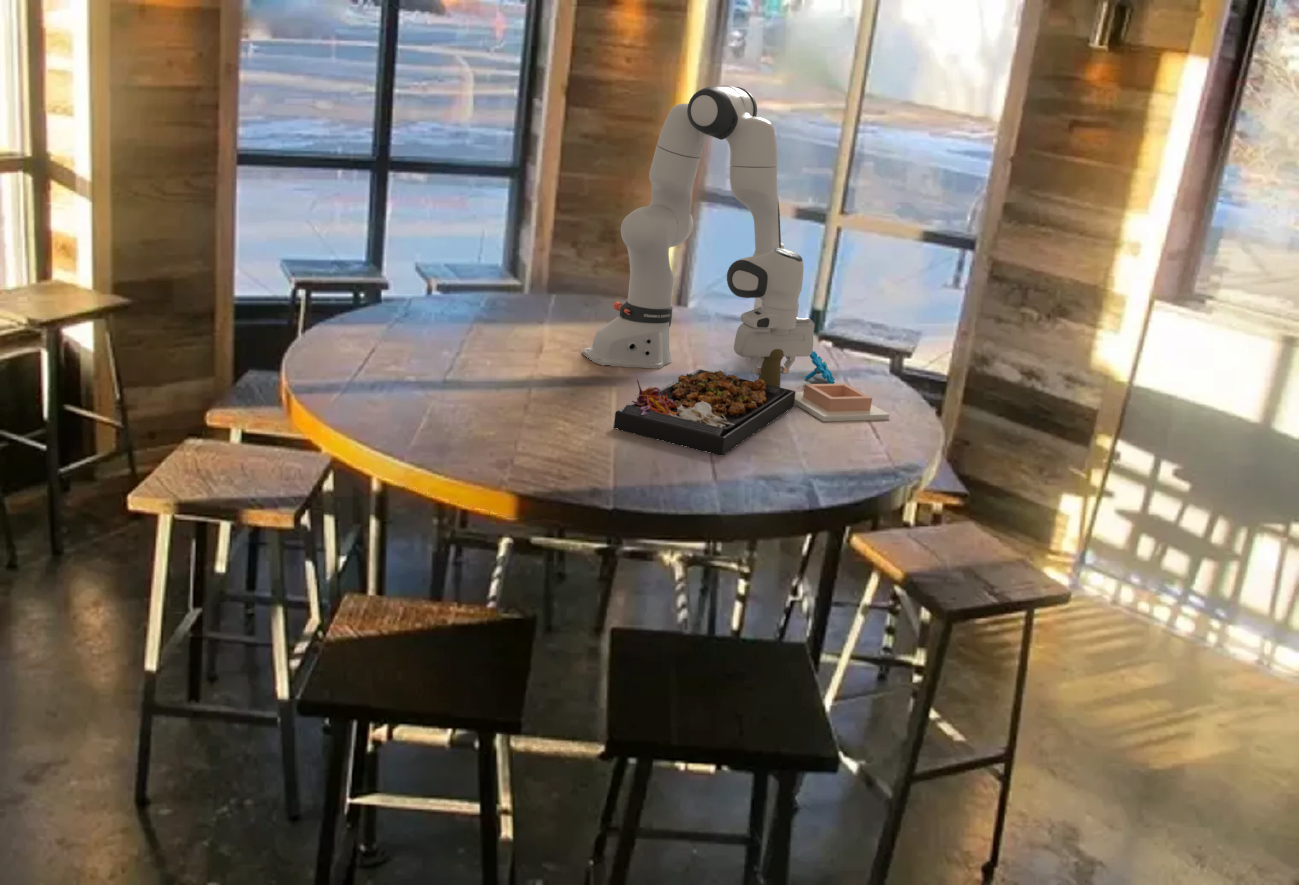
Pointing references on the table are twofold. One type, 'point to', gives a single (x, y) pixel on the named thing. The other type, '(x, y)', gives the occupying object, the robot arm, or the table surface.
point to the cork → (772, 368)
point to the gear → (820, 368)
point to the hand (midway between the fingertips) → (770, 373)
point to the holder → (837, 403)
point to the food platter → (705, 410)
